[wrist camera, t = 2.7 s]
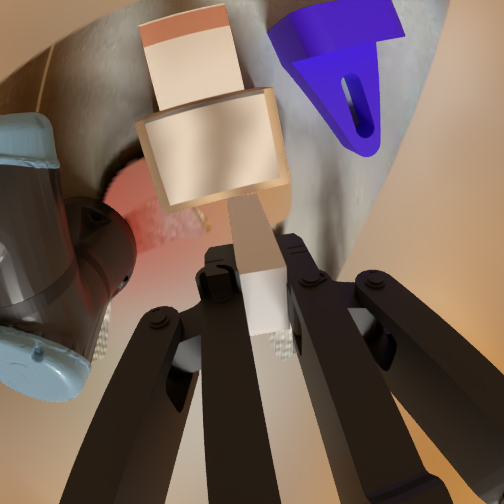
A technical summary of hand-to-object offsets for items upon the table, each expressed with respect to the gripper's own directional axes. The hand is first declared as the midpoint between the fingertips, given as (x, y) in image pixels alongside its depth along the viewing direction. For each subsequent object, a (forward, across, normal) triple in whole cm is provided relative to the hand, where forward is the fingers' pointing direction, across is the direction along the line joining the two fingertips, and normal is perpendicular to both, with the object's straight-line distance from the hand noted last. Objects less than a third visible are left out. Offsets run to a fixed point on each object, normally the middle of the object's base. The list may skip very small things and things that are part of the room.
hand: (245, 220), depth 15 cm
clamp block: (+22, -1, +1) cm, 22 cm away
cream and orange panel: (+12, -2, +10) cm, 16 cm away
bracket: (+23, +14, +6) cm, 28 cm away
